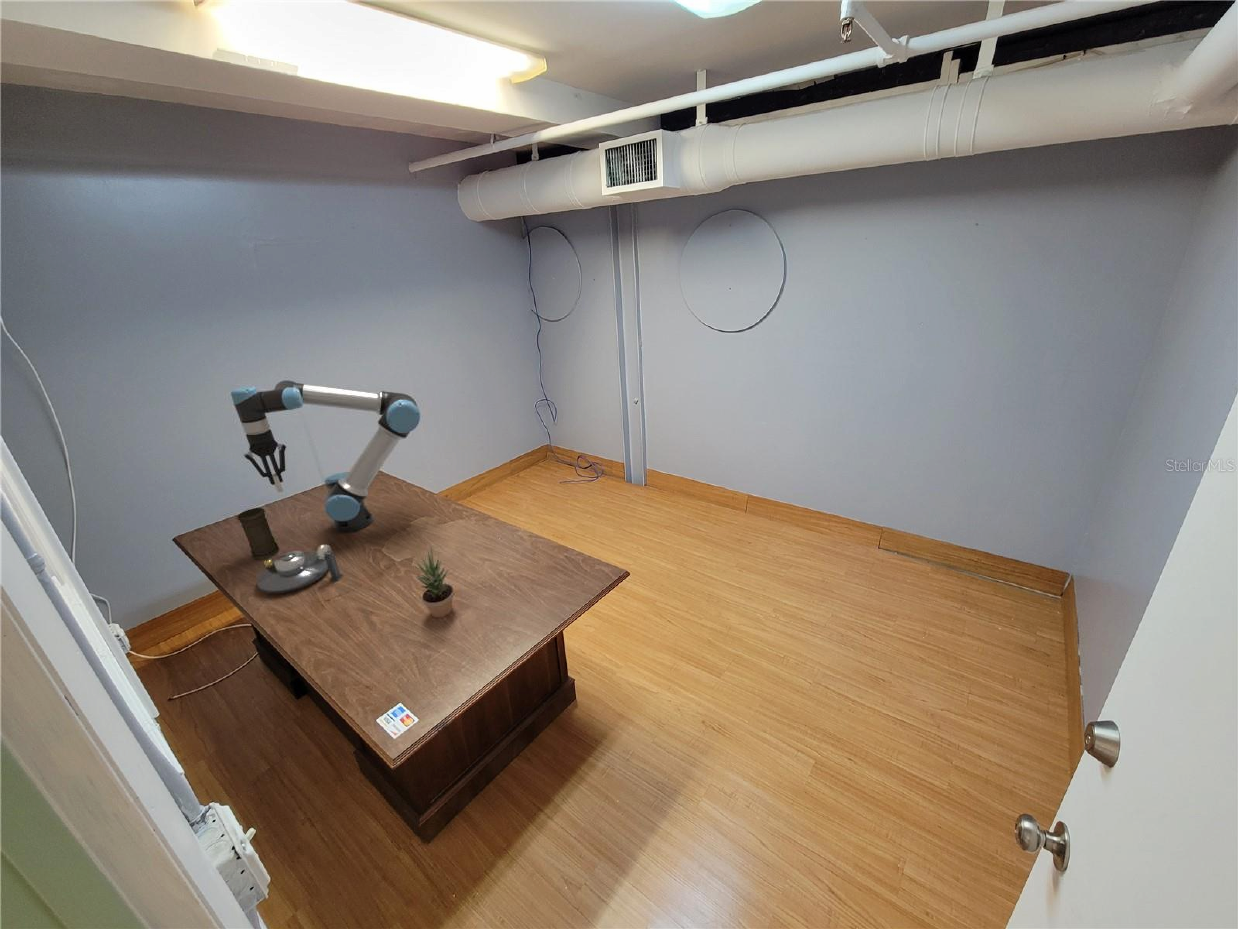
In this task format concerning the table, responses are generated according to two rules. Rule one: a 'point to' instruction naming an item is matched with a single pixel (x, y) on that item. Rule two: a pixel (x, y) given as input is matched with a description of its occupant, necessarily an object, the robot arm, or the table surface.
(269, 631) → the table surface
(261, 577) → the turntable
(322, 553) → the dial stand
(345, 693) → the table surface
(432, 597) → the potted plant
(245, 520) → the container
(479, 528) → the table surface
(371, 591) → the table surface
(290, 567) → the cover
